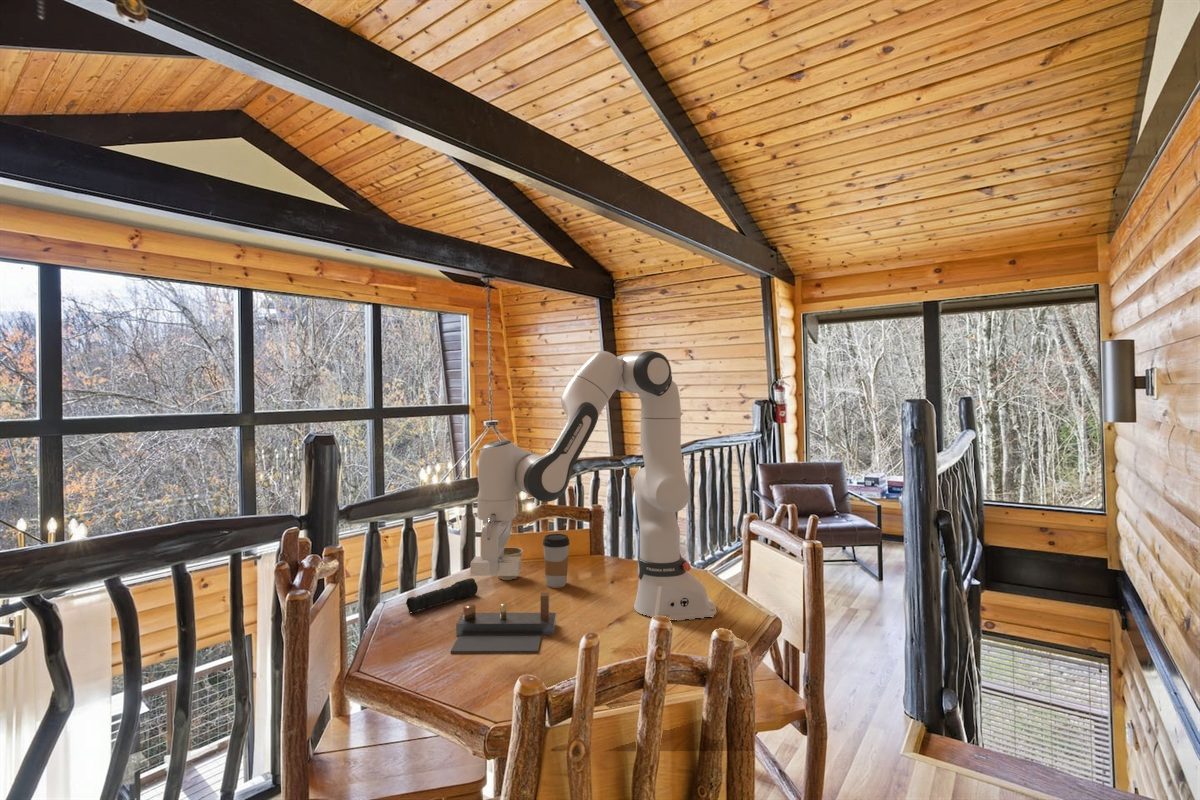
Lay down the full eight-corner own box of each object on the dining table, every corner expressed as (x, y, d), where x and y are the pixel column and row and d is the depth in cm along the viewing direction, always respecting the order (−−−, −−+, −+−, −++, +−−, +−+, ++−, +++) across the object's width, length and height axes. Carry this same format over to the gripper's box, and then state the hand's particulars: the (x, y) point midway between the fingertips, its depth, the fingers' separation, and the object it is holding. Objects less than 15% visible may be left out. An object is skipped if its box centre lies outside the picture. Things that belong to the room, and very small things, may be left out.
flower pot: (491, 574, 189) (491, 548, 189) (520, 571, 192) (520, 546, 192) (495, 583, 180) (495, 556, 180) (525, 580, 183) (525, 553, 183)
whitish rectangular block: (520, 569, 138) (521, 556, 138) (518, 575, 133) (518, 562, 133) (474, 569, 138) (475, 556, 138) (470, 575, 133) (470, 562, 133)
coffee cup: (565, 590, 174) (565, 540, 174) (539, 588, 176) (539, 539, 176) (572, 581, 183) (572, 534, 182) (547, 579, 184) (547, 532, 184)
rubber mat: (541, 638, 140) (541, 635, 140) (537, 653, 132) (537, 650, 132) (458, 638, 140) (458, 636, 140) (450, 653, 132) (450, 650, 132)
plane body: (555, 624, 149) (555, 589, 149) (553, 635, 142) (553, 599, 142) (462, 624, 149) (462, 589, 149) (456, 635, 142) (456, 599, 142)
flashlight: (478, 596, 170) (478, 579, 170) (414, 617, 154) (414, 598, 154) (468, 592, 173) (468, 576, 173) (405, 612, 157) (404, 594, 157)
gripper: (502, 519, 125) (502, 583, 125) (516, 501, 145) (515, 556, 146) (473, 519, 125) (473, 583, 125) (490, 501, 145) (490, 556, 146)
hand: (496, 568), depth 136 cm, fingers closed on whitish rectangular block, 5 cm apart
